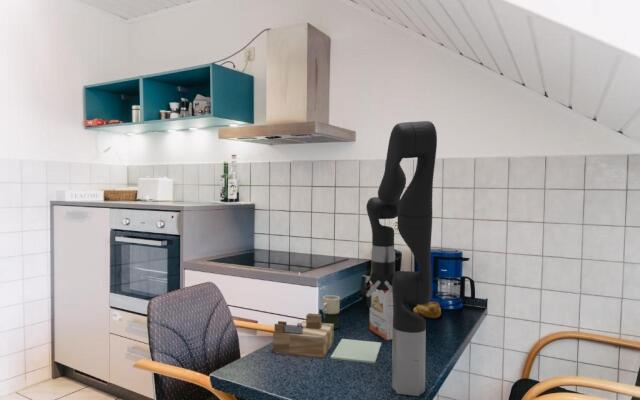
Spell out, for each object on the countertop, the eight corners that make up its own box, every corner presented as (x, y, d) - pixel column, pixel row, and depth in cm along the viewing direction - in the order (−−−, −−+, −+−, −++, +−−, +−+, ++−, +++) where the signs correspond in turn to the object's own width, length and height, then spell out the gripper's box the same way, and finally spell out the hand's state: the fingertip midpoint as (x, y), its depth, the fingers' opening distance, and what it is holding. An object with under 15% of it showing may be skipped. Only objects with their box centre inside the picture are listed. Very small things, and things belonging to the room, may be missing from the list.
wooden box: (322, 358, 140) (323, 328, 140) (272, 352, 145) (273, 324, 145) (333, 342, 156) (333, 316, 156) (288, 338, 160) (288, 312, 160)
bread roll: (410, 316, 193) (410, 298, 193) (418, 311, 201) (418, 295, 201) (437, 321, 186) (437, 303, 186) (444, 316, 194) (444, 299, 194)
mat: (374, 363, 136) (375, 361, 136) (330, 358, 140) (330, 356, 140) (381, 344, 155) (381, 342, 155) (341, 340, 159) (341, 338, 159)
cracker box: (368, 330, 172) (369, 279, 172) (381, 328, 174) (381, 278, 174) (385, 341, 158) (386, 286, 158) (399, 339, 161) (399, 285, 161)
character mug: (331, 323, 180) (332, 293, 180) (345, 326, 176) (345, 296, 176) (316, 329, 171) (316, 298, 172) (330, 333, 167) (330, 300, 167)
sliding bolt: (301, 333, 143) (301, 324, 143) (279, 331, 145) (279, 322, 145) (303, 331, 145) (303, 323, 145) (281, 329, 147) (281, 321, 147)
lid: (323, 342, 140) (323, 324, 140) (289, 339, 143) (289, 321, 144) (333, 328, 156) (333, 312, 156) (303, 326, 159) (303, 309, 159)
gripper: (359, 260, 132) (359, 310, 133) (404, 262, 128) (404, 313, 130) (363, 255, 139) (363, 303, 141) (406, 257, 136) (406, 306, 137)
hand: (383, 308), depth 135 cm, fingers open, 8 cm apart
